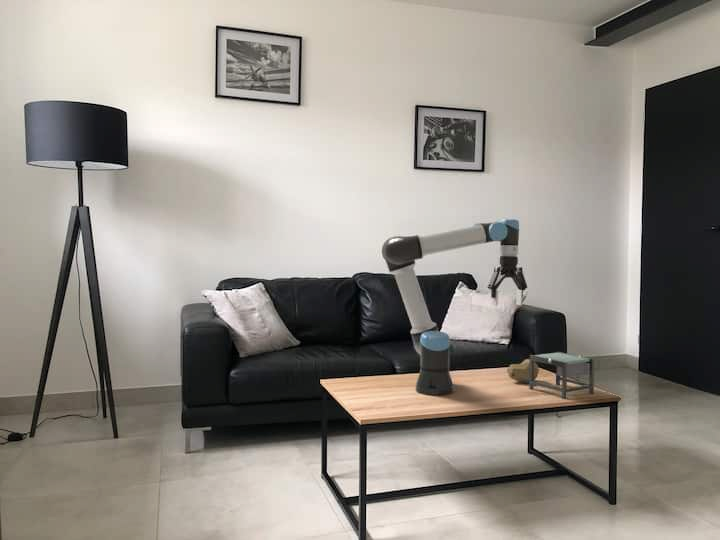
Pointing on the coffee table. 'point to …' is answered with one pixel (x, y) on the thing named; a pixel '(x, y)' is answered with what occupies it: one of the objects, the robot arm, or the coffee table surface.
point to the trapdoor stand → (564, 376)
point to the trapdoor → (569, 363)
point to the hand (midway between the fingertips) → (507, 305)
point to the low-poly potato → (522, 371)
